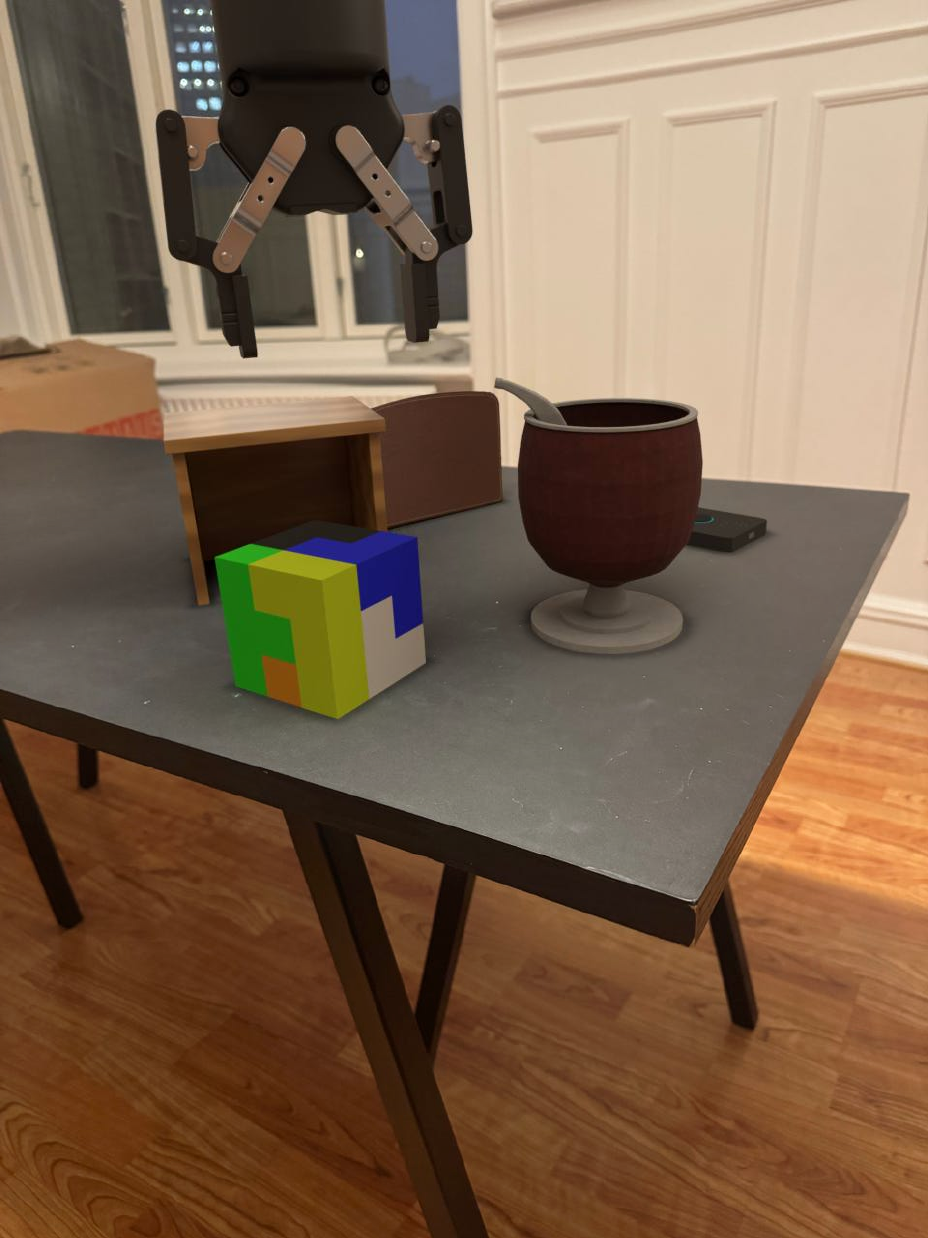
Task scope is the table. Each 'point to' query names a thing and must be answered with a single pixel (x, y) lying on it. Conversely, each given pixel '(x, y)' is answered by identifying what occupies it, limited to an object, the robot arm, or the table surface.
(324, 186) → the robot arm
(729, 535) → the smart home device
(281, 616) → the puzzle toy
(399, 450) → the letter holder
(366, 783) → the table surface
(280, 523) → the shelf
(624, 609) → the mate gourd
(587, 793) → the table surface
